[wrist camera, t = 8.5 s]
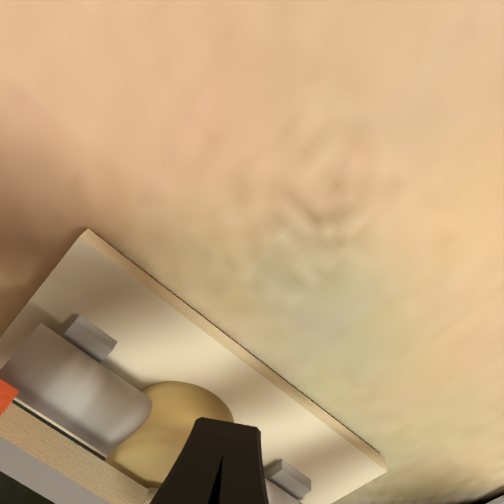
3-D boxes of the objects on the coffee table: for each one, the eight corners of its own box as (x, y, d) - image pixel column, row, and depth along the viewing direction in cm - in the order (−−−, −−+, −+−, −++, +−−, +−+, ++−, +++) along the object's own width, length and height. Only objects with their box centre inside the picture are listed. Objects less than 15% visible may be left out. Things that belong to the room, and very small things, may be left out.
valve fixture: (384, 457, 22) (405, 558, 18) (252, 535, 26) (243, 634, 22) (87, 228, 18) (22, 288, 14) (-18, 362, 22) (-95, 441, 18)
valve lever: (199, 505, 18) (189, 553, 16) (163, 529, 18) (150, 576, 17) (-84, 322, 15) (-131, 357, 13) (-109, 362, 16) (-157, 399, 14)
